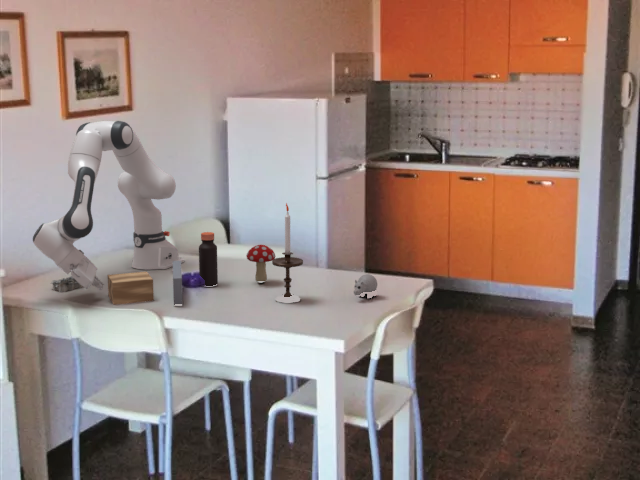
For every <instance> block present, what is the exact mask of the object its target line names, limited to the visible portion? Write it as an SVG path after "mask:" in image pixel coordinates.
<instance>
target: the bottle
mask: <svg viewBox="0 0 640 480" xmlns="http://www.w3.org/2000/svg"><path fill="white" fill-rule="evenodd" d="M200 241H201V244H199V246H198V269H199V273H198V274H199V275H200V276H201V277H202V278H203V279H204V280H205V285H206V286H213V285H216V284H219V282H218V281H219V280H218V279H219V278H218V274H219V273H218V246H217V245H216V244H215V242H214V241H215V233H214V232H212V231H211V232H210V231H207V232H205V231H203V232H201V233H200Z"/></svg>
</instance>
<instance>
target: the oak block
mask: <svg viewBox="0 0 640 480" xmlns="http://www.w3.org/2000/svg"><path fill="white" fill-rule="evenodd" d="M107 291H108V293H107V294H108V297H109V300H110V301H111V302H112V303H111V304H113V305H125V304H135V303H145V301H146V302H153V301H152V300H154V301H155V298H154V297H155V296H154V279H153V278H152V276H151V275H150V273H148V272H147V271H138V272H137V271H135V272H125V273H112V274H107Z"/></svg>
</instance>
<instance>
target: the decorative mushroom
mask: <svg viewBox="0 0 640 480" xmlns="http://www.w3.org/2000/svg"><path fill="white" fill-rule="evenodd" d="M245 257H246V260H248V261H249V262H253V263H256V264H255V266H256V269H255V270H256V271H255V278H254V279H255V281H256V282H257V281H266V282H267V280H268V275H267V269H266V268H267V263H268V262H272V260H273V259H276V258H277V257H276V253H275V251H274V250H273V249H272V248H271V247H269V246H267V245H266V244H265V245H264V244H257V245H253V247H251V248H250V249H249V250H248V251H247V253H246V256H245Z"/></svg>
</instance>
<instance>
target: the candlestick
mask: <svg viewBox="0 0 640 480" xmlns="http://www.w3.org/2000/svg"><path fill="white" fill-rule="evenodd" d="M285 207H286V214H285V215H284V252H282V253H281V254H282V255H284V256H283V257H275V259H273V260H272V261H271V264H272V265H273V266H276V267H279V268H284V269H285V277H284V278H283V282H284V283H285V285H284V286H283V287H284V288H285V293H284V297H290V296H292V295H291V294H292V293H291V292H290V291H291V290H290V289H291V288H292V285H291V282H292V280H293V279H292V278H291V276H290V275H291V272H290V271H291V270H290V269H291V268H295V267H297V268H298V267H300V266H303V264H304V259H302V258H299V257H294V256H292V255H294V252H291V215H290V214H289V209H290V208H289V206H288V203H287V202H286V203H285Z"/></svg>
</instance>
